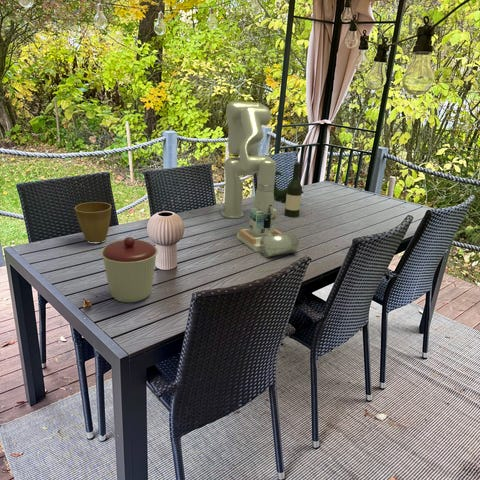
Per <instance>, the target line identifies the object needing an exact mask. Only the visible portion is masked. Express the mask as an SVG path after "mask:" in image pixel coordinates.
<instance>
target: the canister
mask: <svg viewBox="0 0 480 480" xmlns="http://www.w3.org/2000/svg"><path fill="white" fill-rule="evenodd" d="M158 252H159V251H158V248H157V246H155V245H154V244H152V243H150V242H148V241H144V240H139V239H134V238H133V237H130V236H129V237H128V236H127V237H125V238H124V239H123V240H122V239H121V240H118V241H114V242H111V243H110V244H108V245H105V246H104V247H103V248H102V249H101V251H100V256H101V257H102V259H103V263H104V268H105V273H106V279H107V283H108V284H107V285H108V289H109V292H110V294H111V296H112V297H113V298H114V299H115V300H116V301H119V302H120V303H121V302H122V303H135V302H140V301H143V300H145V299H146V298H148V297H149V296H150V293H151V291H152V288H153V284H154V283H153V282H154V274H155V264H156V257H157V254H158Z"/></svg>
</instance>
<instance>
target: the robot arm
mask: <svg viewBox="0 0 480 480" xmlns="http://www.w3.org/2000/svg"><path fill="white" fill-rule="evenodd" d="M225 115H226V121H227V125H228V135H227V138H228V139H227V140H228V141H227V150H228V153H229V154H230V155H234V157H228V158H227V159H225V161H224V164H223V165H224V175H225V184H224V186H225V187H224V204H223V205H222V207H223V210H222V211H221V212H220V216H222V217H224V218H226V219H227V218H228V219H242V218H244V216H245V213H244V211H242V210H243V209H242V206H243V190H244V184H243V181H242V180H241V178H240V177H243V176H253V175H255V174H256V173H257V185H256V186H257V187H256V190H255V194H254V201H253V202H254V203H253V208H257V209H258V210H260V211H262V214H265V220H264V228H270V224H271V220H272V218H273V216H274V215H275V214H274V211H273V208H274V205H275V203H274V202H275V197H274V184H275V183H276V182H275V179H276V176H275V172H276V171H277V161H275V160H274V159H272V157H270V156H268V155H259V142H260V141H261V140H262V139H263V137H264V132H263V128H262V126H267V125H269V124H270V123H271V121H272V114H271V111H270V109H269V107H267V105H264V104H262V103H260V102H255V101H232V102H229V103H228V104H227V105H226V109H225ZM237 156H239V157H237ZM274 209H275V208H274ZM268 211H269V213H267V212H268ZM268 214H269V216H268V217H267V215H268Z"/></svg>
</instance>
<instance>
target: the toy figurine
mask: <svg viewBox="0 0 480 480" xmlns="http://www.w3.org/2000/svg"><path fill="white" fill-rule="evenodd" d="M278 175H279V176H280V177H281V176H282V173H281V172H280V171H278V170H276V172H275V177H277V176H278ZM304 193H305V192H304V191H303V190H302V193H301V195H302V194H304ZM286 195H287V187H286V188H285V189H278V187H277V182H276V178H275V184H274V198H275V202H278V201H281V202H282V203H284V202H286Z"/></svg>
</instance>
